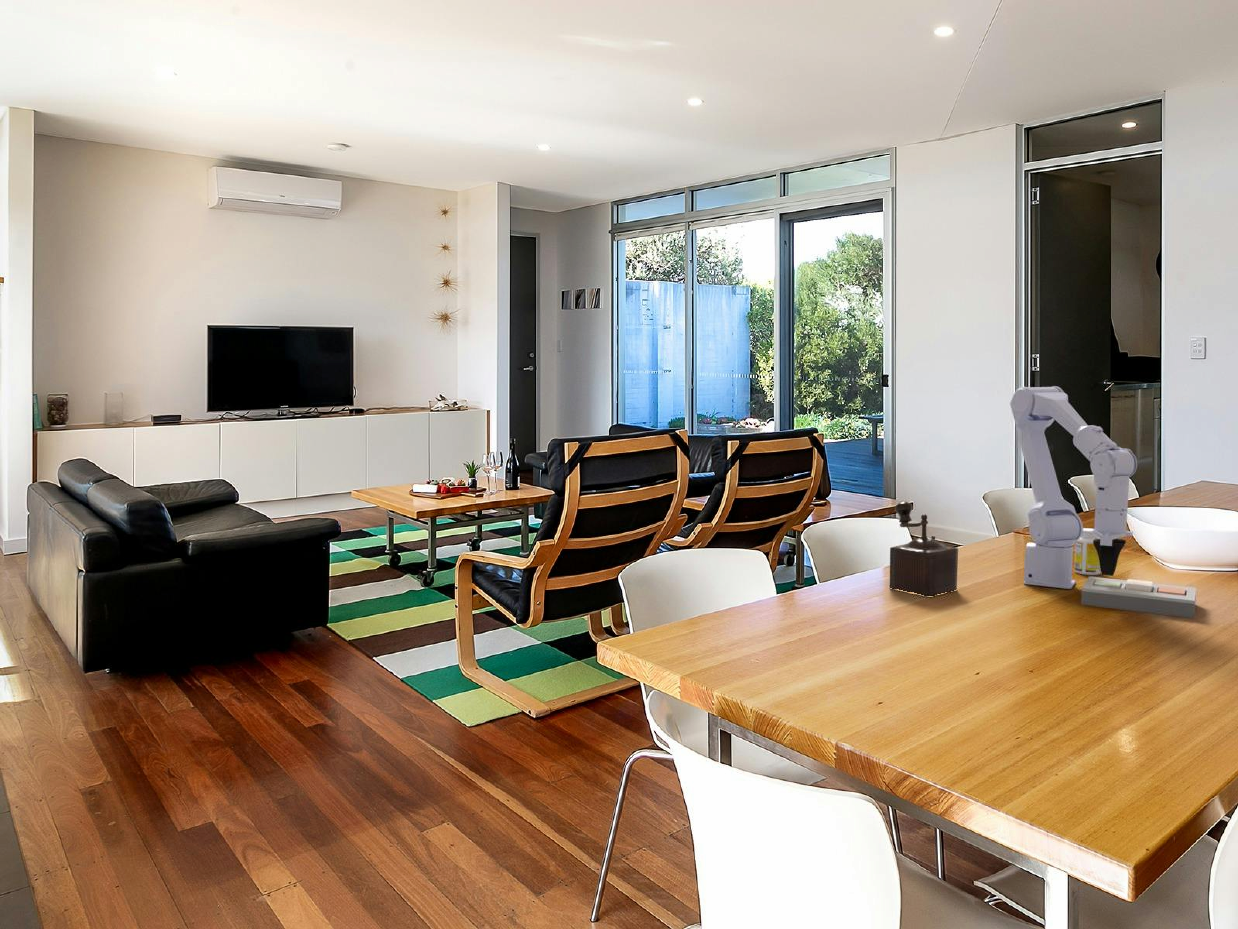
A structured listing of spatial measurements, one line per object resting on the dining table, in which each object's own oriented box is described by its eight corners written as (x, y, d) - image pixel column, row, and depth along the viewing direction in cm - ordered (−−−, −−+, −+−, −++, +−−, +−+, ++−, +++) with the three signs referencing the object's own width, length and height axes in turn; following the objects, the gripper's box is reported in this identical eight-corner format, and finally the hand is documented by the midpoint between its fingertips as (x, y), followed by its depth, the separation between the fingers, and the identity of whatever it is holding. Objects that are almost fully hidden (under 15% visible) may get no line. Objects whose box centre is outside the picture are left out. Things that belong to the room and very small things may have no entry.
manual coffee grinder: (960, 590, 195) (963, 507, 193) (929, 598, 189) (931, 512, 187) (900, 577, 208) (902, 499, 206) (868, 584, 201) (870, 504, 199)
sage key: (1093, 594, 185) (1094, 583, 185) (1096, 590, 189) (1096, 579, 188) (1118, 597, 183) (1118, 586, 182) (1120, 592, 186) (1120, 582, 186)
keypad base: (1081, 604, 183) (1081, 588, 183) (1088, 592, 193) (1089, 576, 193) (1193, 618, 172) (1194, 600, 172) (1195, 604, 182) (1196, 587, 182)
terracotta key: (1157, 601, 179) (1158, 590, 179) (1158, 597, 182) (1159, 586, 182) (1183, 604, 176) (1184, 593, 176) (1184, 600, 180) (1185, 589, 180)
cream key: (1125, 594, 182) (1125, 583, 182) (1127, 589, 185) (1127, 579, 185) (1150, 597, 179) (1151, 586, 179) (1152, 592, 183) (1152, 581, 183)
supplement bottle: (1105, 573, 210) (1107, 529, 209) (1094, 577, 207) (1096, 532, 206) (1080, 569, 215) (1082, 526, 214) (1069, 572, 211) (1071, 529, 210)
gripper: (1130, 515, 176) (1126, 584, 177) (1136, 505, 188) (1133, 570, 189) (1090, 512, 179) (1086, 580, 181) (1098, 503, 191) (1095, 566, 193)
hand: (1107, 574), depth 185 cm, fingers closed
